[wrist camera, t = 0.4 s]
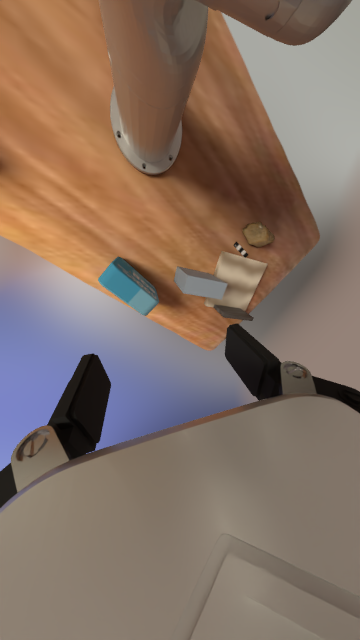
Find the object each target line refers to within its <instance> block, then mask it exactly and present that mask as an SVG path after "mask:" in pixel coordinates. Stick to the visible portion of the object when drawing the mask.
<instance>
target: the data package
mask: <svg viewBox="0 0 360 640" xmlns="http://www.w3.org/2000/svg"><path fill="white" fill-rule="evenodd" d="M98 281H99V283H100V284H101V285H102V286H103V287H105V288H106V289H107V290H109V291H110V292H112V293H113V294H114V295H116V296H117V297H118V298H120V299H121V300H123V301H124V302H125V303H127V304H128V305H130V306H131V307H132V308H134V309H135V310H136V311H138V312H139V313H141V314H142V315H145V316H146V315H147V314H148V313H149V312H150V311H151V310H152V309H153V308H154V307H155V306H156V305H157V304H158V303H159V299H158V295H157V292H156V289H155V287H154V286H153V285H152V284H151V283H150V282H148V281H147V280H146V279H145V278H144V277H143V276H142V275H141V274H139V273H138V272H137V271H136V270H135V269H134V268H133V267H131V266H130V265H129V264H128V263H127V262H126V261H125V260H123V259H122V258H121V257H117V258H116V259H115V260H114V261H113V262H112V263H111V264H110V265H109V266H108V268H107V269H106V270H105V271H104V272H103V274H102V275H101V276H100V277H99V279H98Z"/></svg>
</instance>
